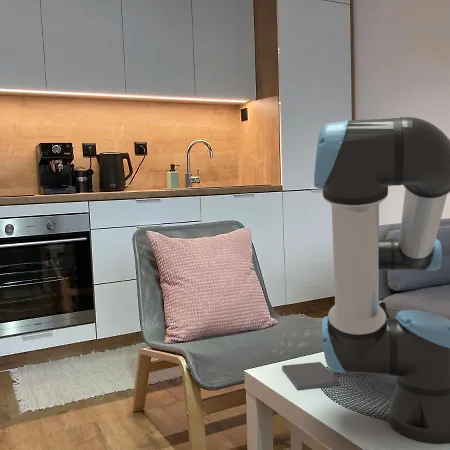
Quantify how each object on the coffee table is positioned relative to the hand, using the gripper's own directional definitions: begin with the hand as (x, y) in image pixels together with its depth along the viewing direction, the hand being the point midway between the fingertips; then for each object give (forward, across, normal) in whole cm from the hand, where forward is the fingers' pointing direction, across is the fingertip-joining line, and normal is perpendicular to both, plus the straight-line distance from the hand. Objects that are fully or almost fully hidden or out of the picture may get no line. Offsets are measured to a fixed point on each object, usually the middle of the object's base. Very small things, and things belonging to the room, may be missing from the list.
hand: (360, 364), depth 135 cm
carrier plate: (+2, +14, 0) cm, 14 cm away
